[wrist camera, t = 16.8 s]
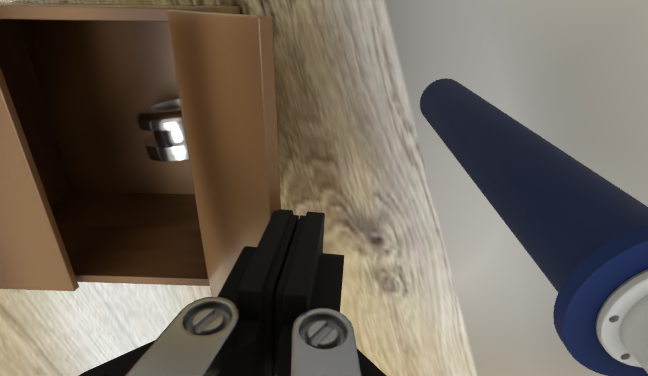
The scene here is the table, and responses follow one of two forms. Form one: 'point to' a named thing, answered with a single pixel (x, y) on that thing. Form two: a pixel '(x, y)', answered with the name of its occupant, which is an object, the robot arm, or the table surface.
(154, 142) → the metal grooved wheel
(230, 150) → the carton flap
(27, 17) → the carton
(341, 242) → the table surface
